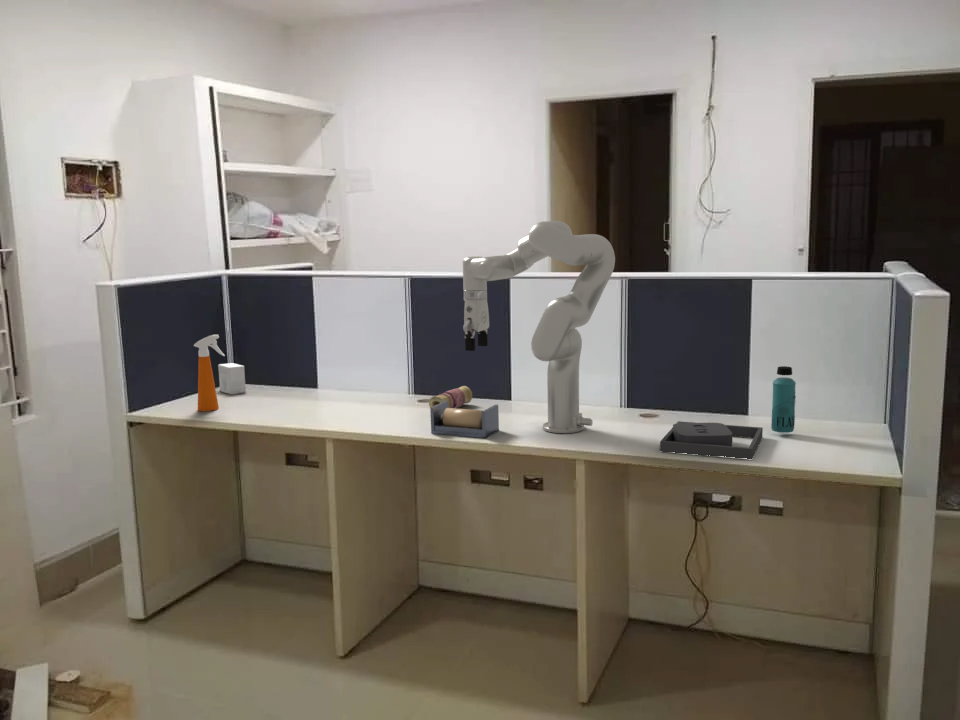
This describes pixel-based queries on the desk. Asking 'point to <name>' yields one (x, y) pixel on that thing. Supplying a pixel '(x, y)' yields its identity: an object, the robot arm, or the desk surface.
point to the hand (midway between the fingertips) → (476, 348)
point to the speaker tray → (716, 450)
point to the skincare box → (232, 378)
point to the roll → (462, 418)
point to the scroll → (453, 397)
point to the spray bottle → (206, 374)
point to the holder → (488, 427)
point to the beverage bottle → (783, 402)
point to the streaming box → (702, 433)
